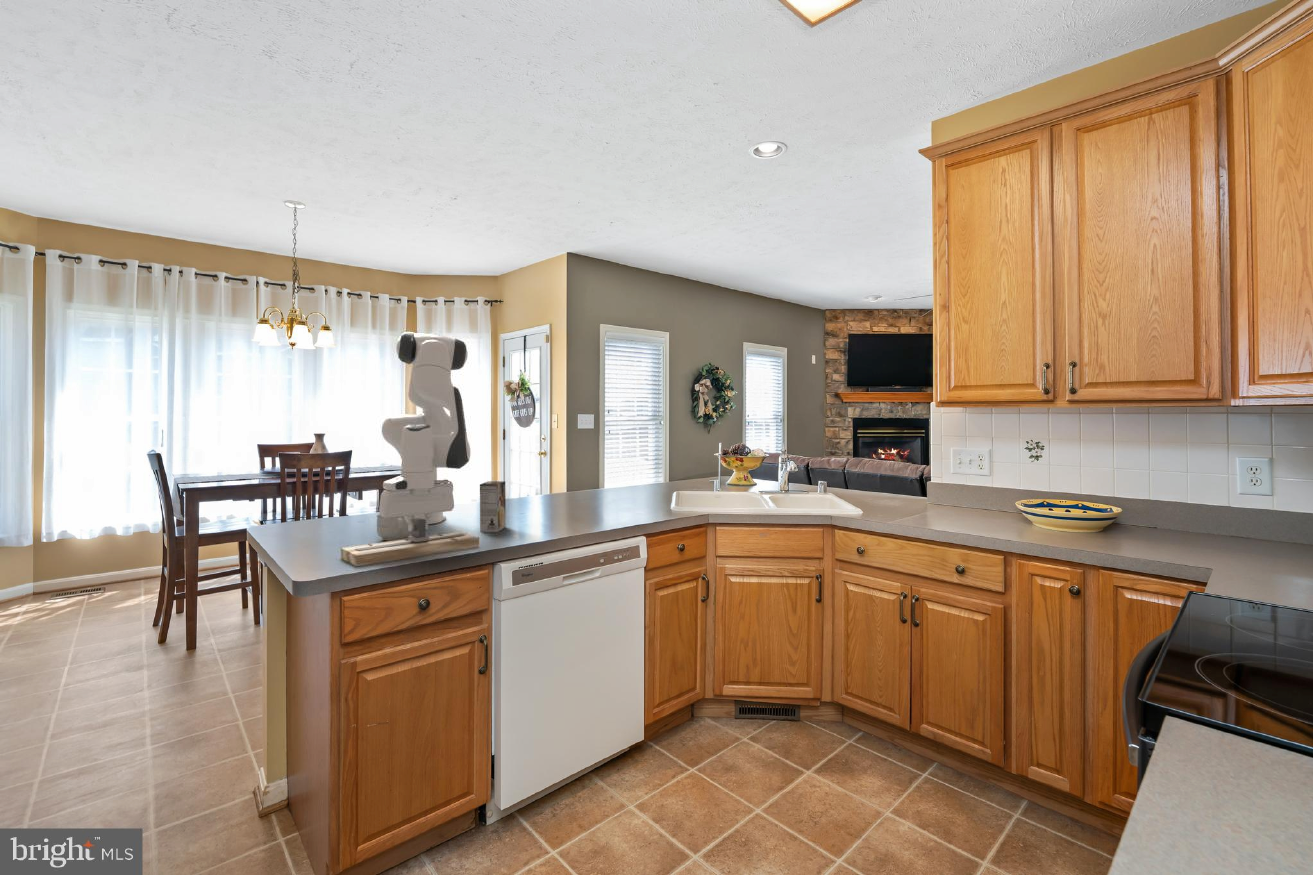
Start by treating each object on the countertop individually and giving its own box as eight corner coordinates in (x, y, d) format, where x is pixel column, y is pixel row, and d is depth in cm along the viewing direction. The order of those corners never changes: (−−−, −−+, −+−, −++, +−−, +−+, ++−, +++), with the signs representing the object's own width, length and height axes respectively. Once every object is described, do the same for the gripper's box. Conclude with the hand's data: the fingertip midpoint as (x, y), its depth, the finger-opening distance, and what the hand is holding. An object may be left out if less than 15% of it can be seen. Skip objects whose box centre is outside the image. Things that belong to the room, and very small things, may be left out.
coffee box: (487, 526, 210) (487, 480, 209) (506, 527, 210) (506, 481, 209) (479, 531, 201) (479, 483, 200) (498, 532, 201) (498, 484, 200)
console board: (341, 558, 162) (341, 546, 162) (459, 540, 186) (459, 530, 186) (356, 566, 154) (356, 554, 154) (479, 546, 178) (479, 536, 178)
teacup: (377, 537, 191) (377, 512, 190) (414, 535, 195) (414, 510, 195) (375, 546, 178) (375, 519, 178) (415, 543, 182) (415, 517, 182)
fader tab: (407, 539, 171) (407, 518, 171) (421, 537, 174) (421, 517, 174) (415, 542, 168) (414, 520, 168) (429, 540, 171) (429, 519, 170)
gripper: (448, 478, 180) (448, 524, 180) (376, 483, 166) (377, 533, 166) (457, 479, 175) (458, 527, 176) (385, 484, 161) (385, 536, 162)
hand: (418, 530), depth 171 cm, fingers closed on fader tab, 2 cm apart
